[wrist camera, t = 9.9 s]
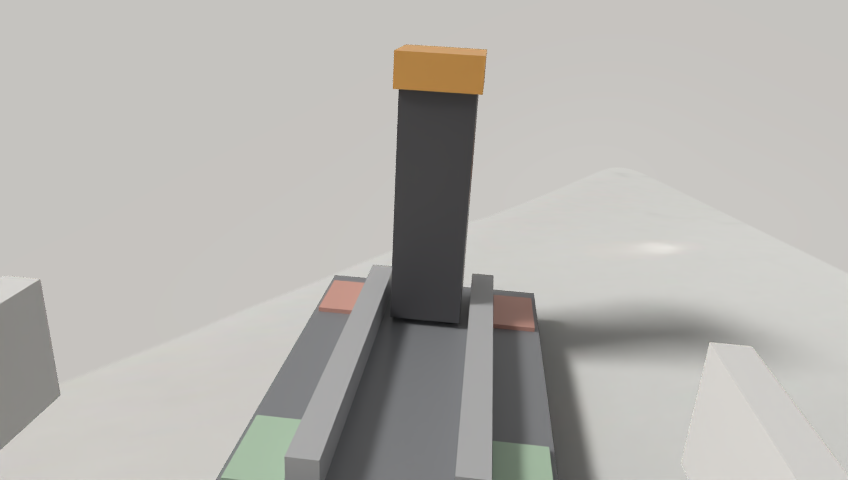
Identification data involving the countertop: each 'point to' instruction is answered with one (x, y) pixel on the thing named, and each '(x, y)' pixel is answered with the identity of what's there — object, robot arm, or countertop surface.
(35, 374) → the robot arm
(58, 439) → the countertop surface
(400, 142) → the breaker handle
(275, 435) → the grey base
